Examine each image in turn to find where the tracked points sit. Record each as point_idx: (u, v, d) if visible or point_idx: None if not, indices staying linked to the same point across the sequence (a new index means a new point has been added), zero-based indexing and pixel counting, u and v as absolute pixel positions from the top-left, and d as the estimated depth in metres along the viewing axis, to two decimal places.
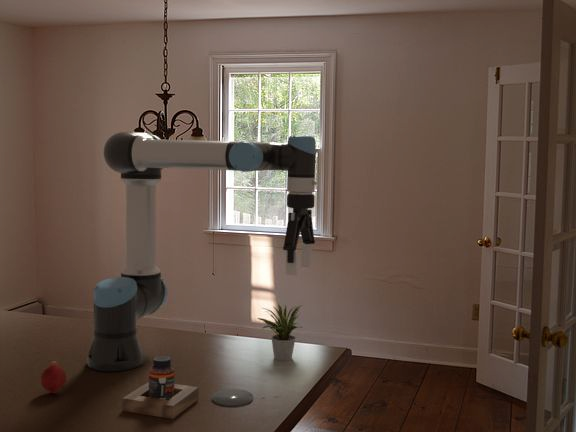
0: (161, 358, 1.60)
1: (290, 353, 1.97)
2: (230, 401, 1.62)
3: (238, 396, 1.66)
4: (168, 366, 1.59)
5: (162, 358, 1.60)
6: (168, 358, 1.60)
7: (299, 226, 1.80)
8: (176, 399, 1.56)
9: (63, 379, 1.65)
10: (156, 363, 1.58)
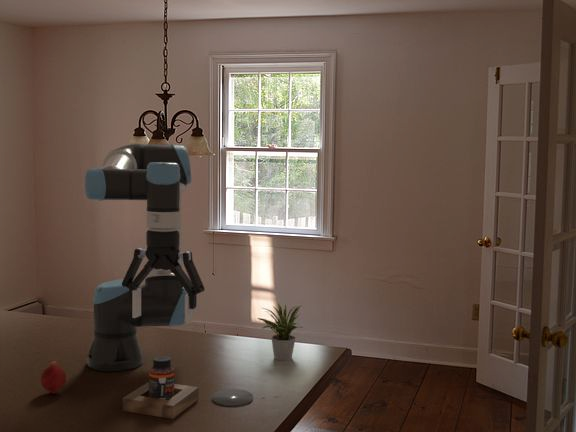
0: (161, 358, 1.60)
1: (290, 353, 1.97)
2: (230, 401, 1.62)
3: (238, 396, 1.66)
4: (168, 366, 1.59)
5: (162, 358, 1.60)
6: (168, 358, 1.60)
7: None
8: (176, 399, 1.56)
9: (63, 379, 1.65)
10: (156, 363, 1.58)
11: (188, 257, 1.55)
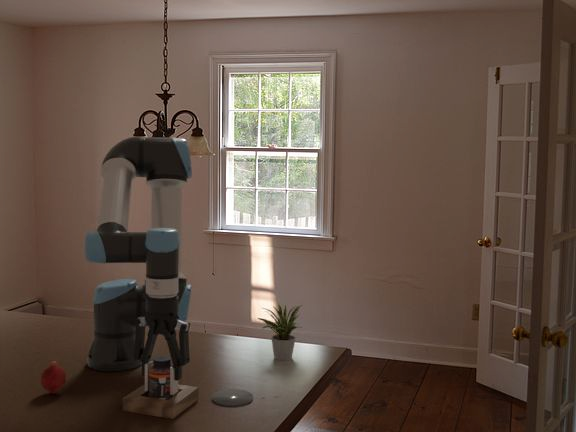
0: (161, 357, 1.60)
1: (290, 353, 1.97)
2: (230, 401, 1.62)
3: (238, 396, 1.66)
4: (168, 366, 1.59)
5: (162, 358, 1.60)
6: (168, 358, 1.60)
7: None
8: (176, 399, 1.56)
9: (63, 379, 1.65)
10: (156, 363, 1.58)
11: (185, 329, 1.56)
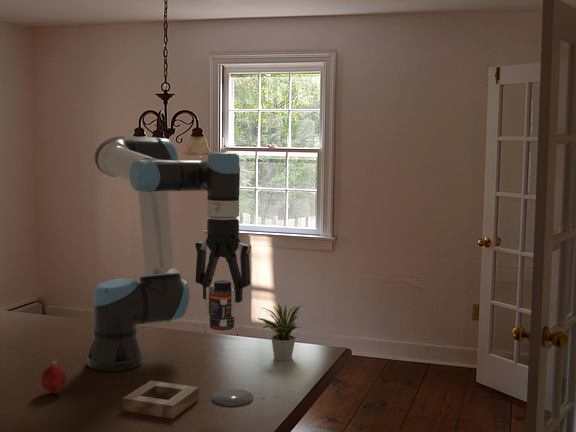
0: (222, 281, 1.62)
1: (290, 353, 1.97)
2: (230, 401, 1.62)
3: (238, 396, 1.66)
4: (229, 289, 1.61)
5: (223, 281, 1.62)
6: (229, 281, 1.62)
7: None
8: (176, 399, 1.56)
9: (63, 379, 1.65)
10: (217, 285, 1.60)
11: (246, 251, 1.58)
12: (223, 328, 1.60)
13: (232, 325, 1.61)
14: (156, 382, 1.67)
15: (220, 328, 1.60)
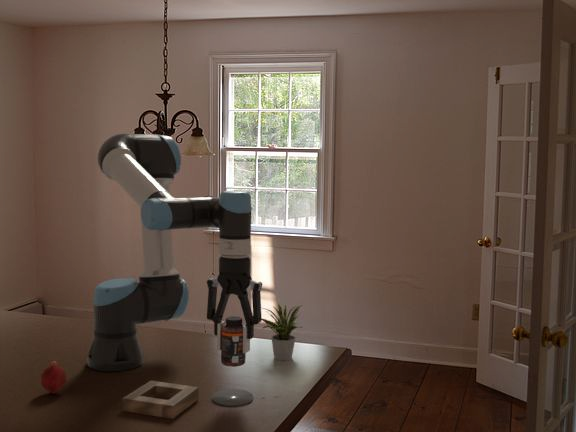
0: (233, 317, 1.64)
1: (290, 353, 1.97)
2: (230, 401, 1.62)
3: (238, 396, 1.66)
4: (240, 325, 1.63)
5: (235, 318, 1.64)
6: (240, 318, 1.64)
7: None
8: (176, 399, 1.56)
9: (63, 379, 1.65)
10: (229, 322, 1.62)
11: (258, 289, 1.61)
12: (235, 364, 1.62)
13: (243, 361, 1.64)
14: (156, 382, 1.67)
15: (232, 364, 1.62)
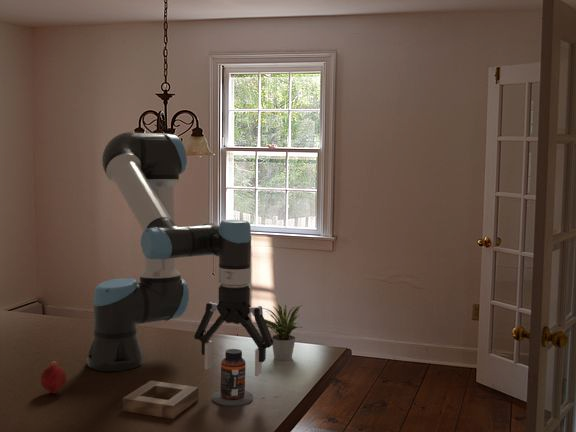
0: (233, 350, 1.65)
1: (290, 353, 1.97)
2: (230, 401, 1.62)
3: None
4: (240, 358, 1.64)
5: (234, 351, 1.65)
6: (240, 351, 1.65)
7: None
8: (176, 399, 1.56)
9: (63, 379, 1.65)
10: (229, 355, 1.63)
11: (259, 312, 1.61)
12: (234, 397, 1.63)
13: (243, 394, 1.65)
14: (156, 382, 1.67)
15: (231, 397, 1.63)
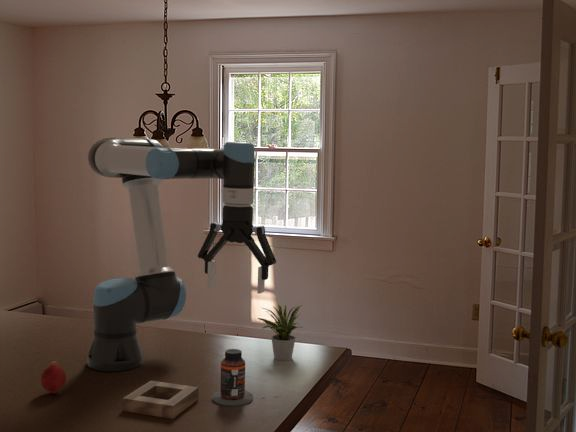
0: (233, 350, 1.65)
1: (290, 353, 1.97)
2: (230, 401, 1.62)
3: None
4: (240, 358, 1.64)
5: (234, 351, 1.65)
6: (240, 351, 1.65)
7: None
8: (176, 399, 1.56)
9: (63, 379, 1.65)
10: (229, 355, 1.63)
11: (262, 231, 1.65)
12: (234, 397, 1.63)
13: (243, 394, 1.65)
14: (156, 382, 1.67)
15: (231, 397, 1.63)
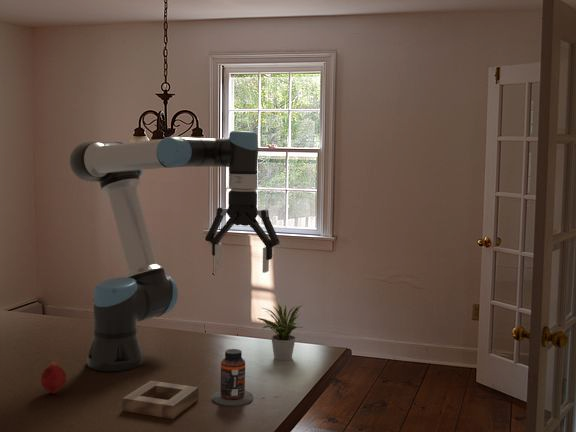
0: (233, 350, 1.65)
1: (290, 353, 1.97)
2: (230, 401, 1.62)
3: None
4: (240, 358, 1.64)
5: (234, 351, 1.65)
6: (240, 351, 1.65)
7: None
8: (176, 399, 1.56)
9: (63, 379, 1.65)
10: (229, 355, 1.63)
11: (266, 214, 1.77)
12: (234, 397, 1.63)
13: (243, 394, 1.65)
14: (156, 382, 1.67)
15: (231, 397, 1.63)
